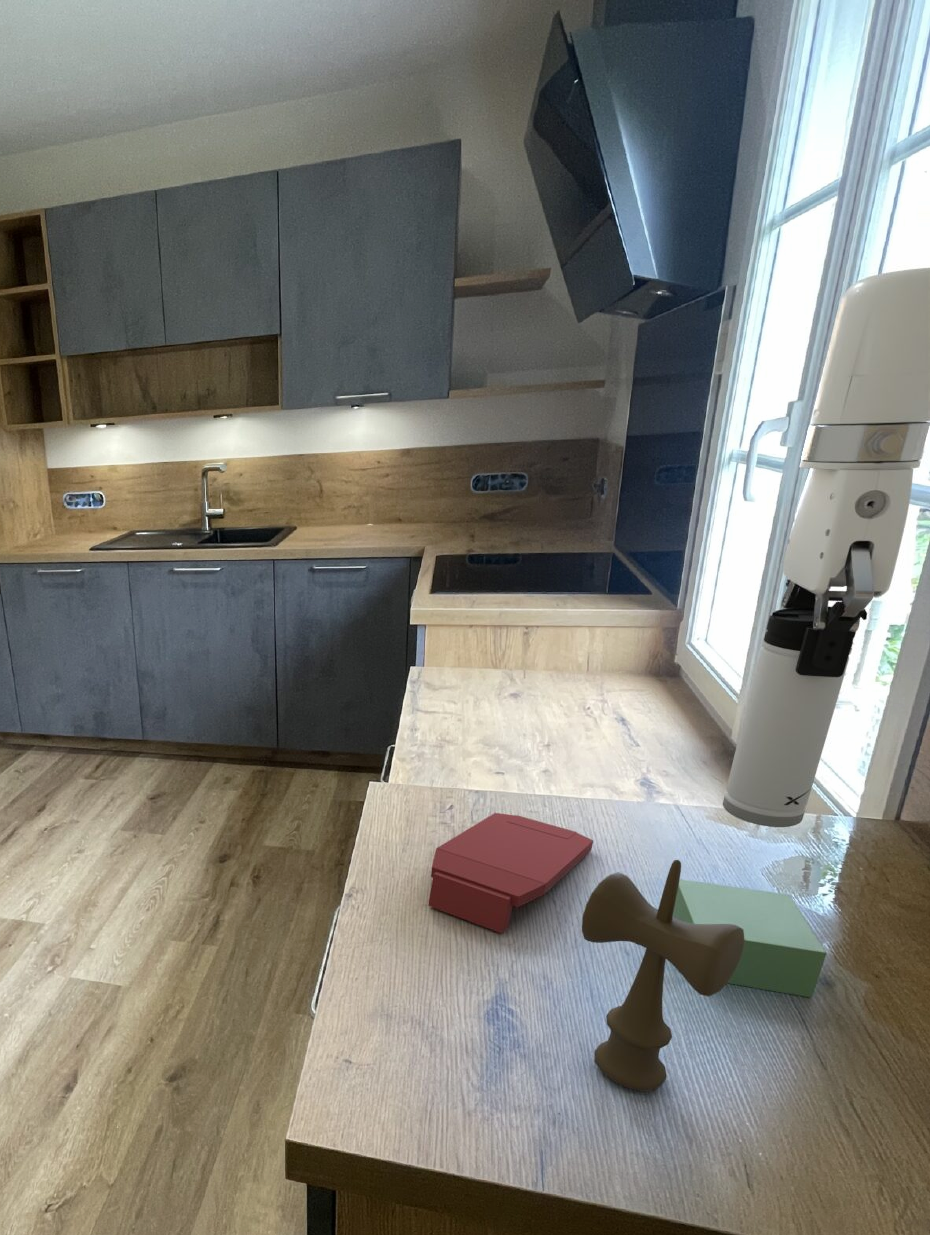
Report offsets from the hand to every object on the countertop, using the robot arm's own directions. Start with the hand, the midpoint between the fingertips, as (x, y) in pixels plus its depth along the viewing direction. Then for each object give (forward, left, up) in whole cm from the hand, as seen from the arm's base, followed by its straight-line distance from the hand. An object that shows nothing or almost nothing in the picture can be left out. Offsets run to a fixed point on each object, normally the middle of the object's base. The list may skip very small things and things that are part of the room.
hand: (804, 662), depth 70 cm
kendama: (+12, +23, -30) cm, 39 cm away
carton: (+21, -7, -30) cm, 37 cm away
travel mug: (0, 0, -15) cm, 15 cm away
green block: (0, +3, -29) cm, 30 cm away
